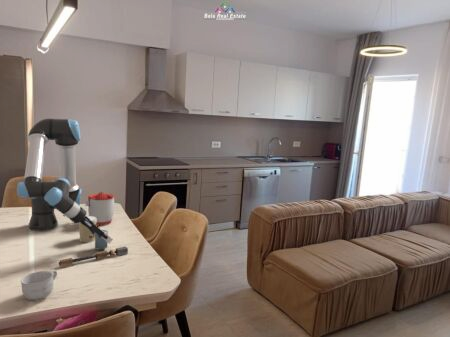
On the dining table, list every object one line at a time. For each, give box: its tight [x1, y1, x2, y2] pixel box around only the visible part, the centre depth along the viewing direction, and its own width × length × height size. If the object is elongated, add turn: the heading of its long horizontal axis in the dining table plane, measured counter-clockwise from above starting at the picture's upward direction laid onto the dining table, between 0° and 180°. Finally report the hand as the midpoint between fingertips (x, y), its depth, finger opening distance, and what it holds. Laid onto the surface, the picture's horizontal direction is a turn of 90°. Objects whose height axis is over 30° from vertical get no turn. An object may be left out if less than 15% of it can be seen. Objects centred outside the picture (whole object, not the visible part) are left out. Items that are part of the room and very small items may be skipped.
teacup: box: [20, 269, 58, 301], centre depth 132 cm, size 14×11×8 cm
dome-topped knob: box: [94, 229, 109, 250], centre depth 177 cm, size 6×6×8 cm
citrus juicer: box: [84, 191, 115, 226], centre depth 215 cm, size 16×17×20 cm
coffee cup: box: [78, 215, 97, 243], centre depth 188 cm, size 9×9×12 cm
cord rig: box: [58, 245, 129, 269], centre depth 165 cm, size 3×32×3 cm, turn 129°
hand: (108, 239), depth 179 cm, fingers closed on dome-topped knob, 6 cm apart
